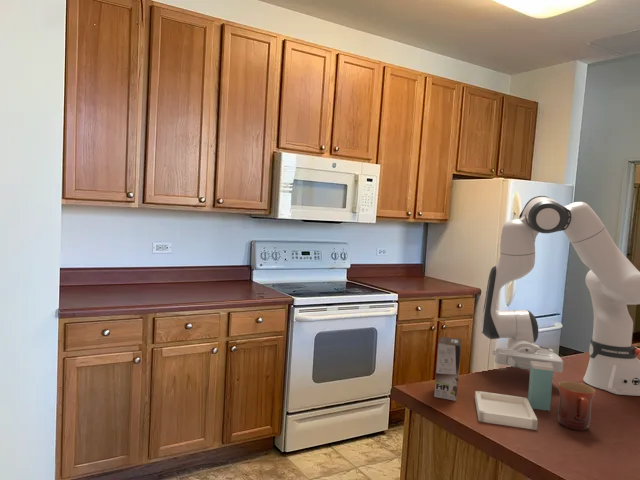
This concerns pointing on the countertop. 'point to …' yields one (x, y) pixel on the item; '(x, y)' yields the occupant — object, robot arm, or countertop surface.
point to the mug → (575, 404)
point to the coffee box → (447, 368)
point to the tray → (505, 410)
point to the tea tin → (540, 385)
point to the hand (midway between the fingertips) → (531, 367)
